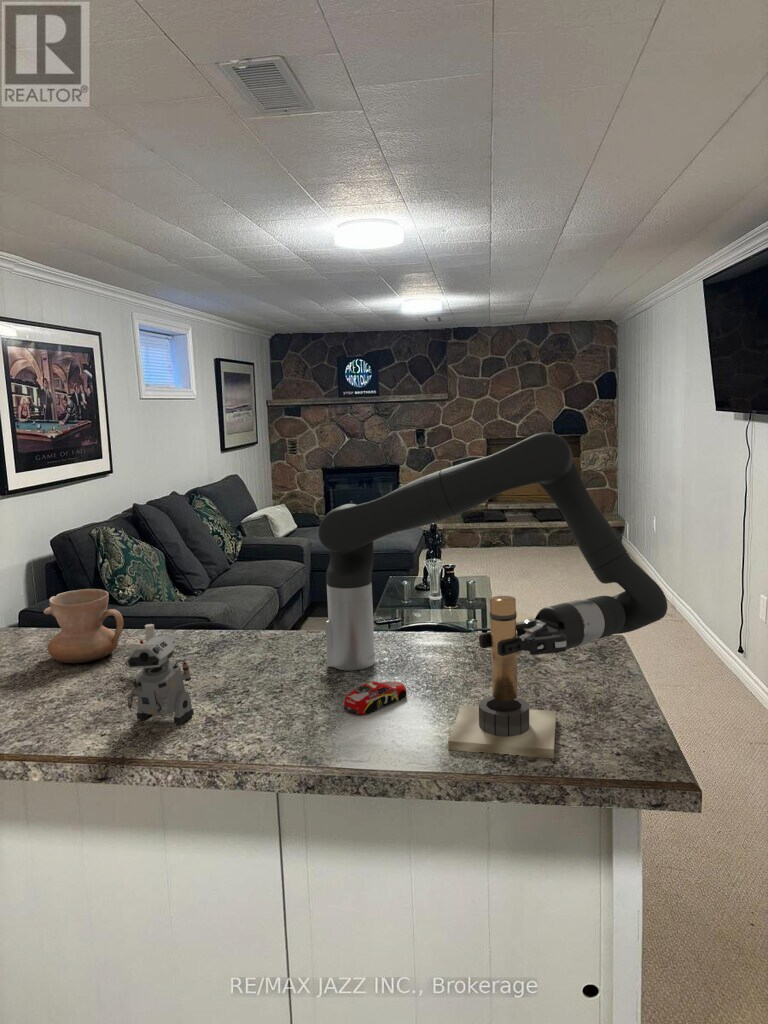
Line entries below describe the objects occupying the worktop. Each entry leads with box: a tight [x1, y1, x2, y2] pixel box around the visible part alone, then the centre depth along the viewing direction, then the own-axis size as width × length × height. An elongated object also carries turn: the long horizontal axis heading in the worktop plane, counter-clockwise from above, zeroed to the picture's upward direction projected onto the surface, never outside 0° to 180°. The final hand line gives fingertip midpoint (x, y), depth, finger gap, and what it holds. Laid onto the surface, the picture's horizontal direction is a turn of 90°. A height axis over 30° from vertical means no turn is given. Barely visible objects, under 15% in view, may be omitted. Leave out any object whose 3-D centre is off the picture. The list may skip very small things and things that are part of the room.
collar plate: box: [447, 695, 557, 760], centre depth 122 cm, size 16×14×5 cm
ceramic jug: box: [43, 588, 124, 664], centre depth 167 cm, size 18×14×14 cm
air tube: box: [489, 595, 519, 701], centre depth 120 cm, size 4×4×16 cm
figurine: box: [124, 634, 195, 726], centre depth 130 cm, size 9×12×15 cm
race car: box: [343, 681, 408, 715], centre depth 137 cm, size 13×5×4 cm, turn 133°
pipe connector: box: [128, 623, 156, 654], centre depth 156 cm, size 10×10×10 cm
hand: (490, 645), depth 118 cm, fingers closed on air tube, 4 cm apart
